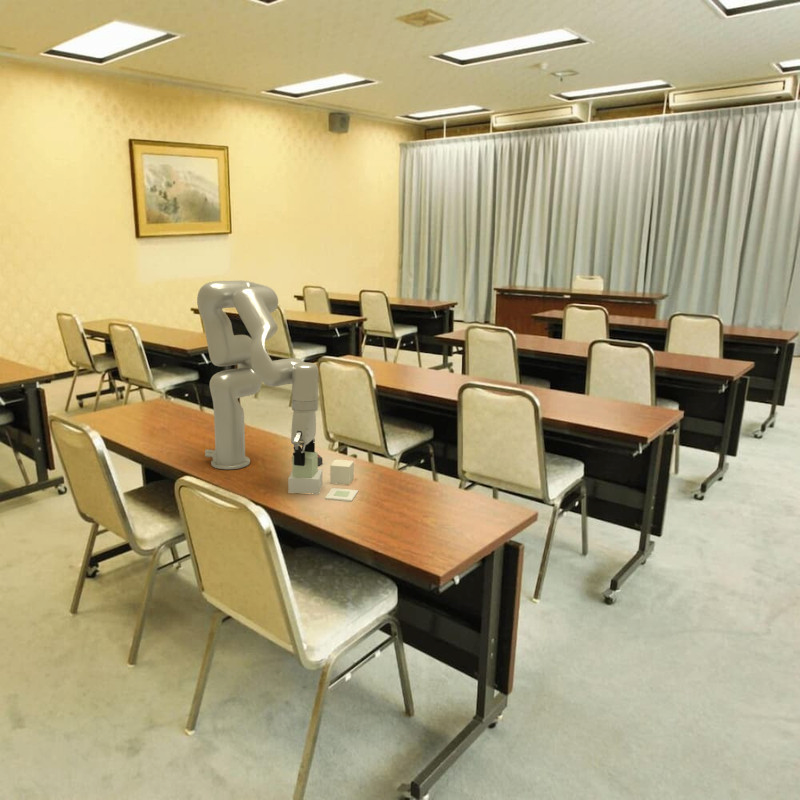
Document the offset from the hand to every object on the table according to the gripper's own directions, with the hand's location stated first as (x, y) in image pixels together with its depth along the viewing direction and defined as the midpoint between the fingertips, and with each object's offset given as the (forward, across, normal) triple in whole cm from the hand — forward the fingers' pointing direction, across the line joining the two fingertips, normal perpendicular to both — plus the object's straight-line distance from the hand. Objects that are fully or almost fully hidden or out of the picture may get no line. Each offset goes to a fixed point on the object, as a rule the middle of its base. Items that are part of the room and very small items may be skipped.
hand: (304, 460), depth 196 cm
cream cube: (+9, -9, +10) cm, 16 cm away
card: (+9, +3, +12) cm, 16 cm away
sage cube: (+4, 0, 0) cm, 4 cm away
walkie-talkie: (+10, -22, -6) cm, 25 cm away
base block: (+9, 0, +1) cm, 9 cm away
